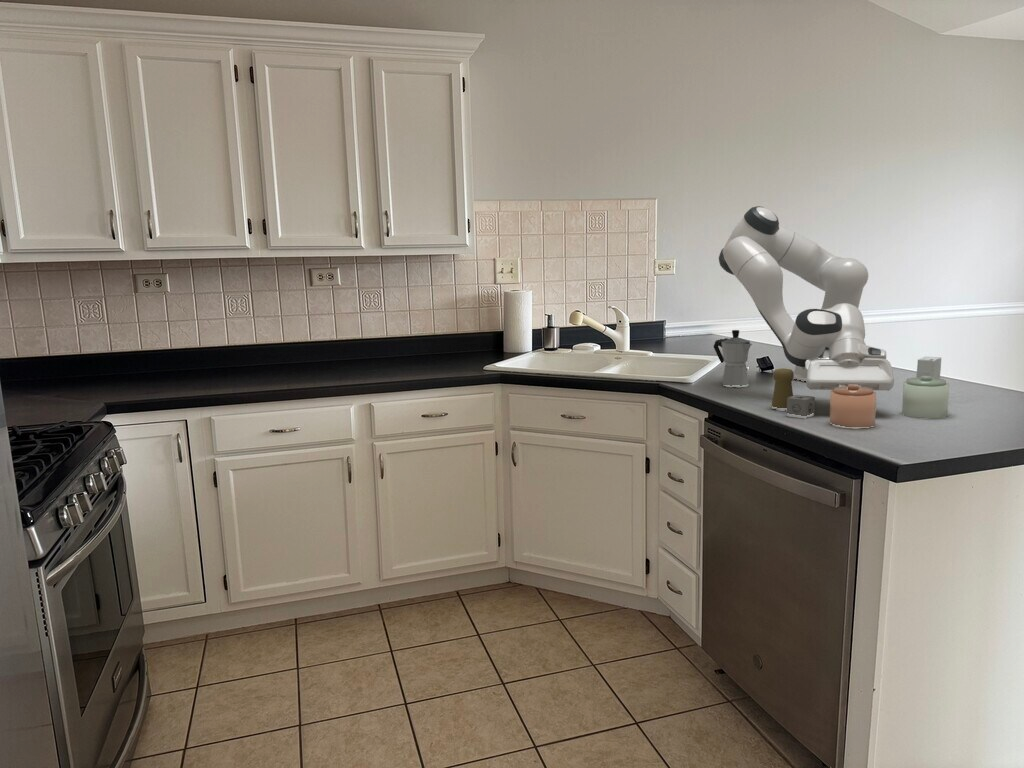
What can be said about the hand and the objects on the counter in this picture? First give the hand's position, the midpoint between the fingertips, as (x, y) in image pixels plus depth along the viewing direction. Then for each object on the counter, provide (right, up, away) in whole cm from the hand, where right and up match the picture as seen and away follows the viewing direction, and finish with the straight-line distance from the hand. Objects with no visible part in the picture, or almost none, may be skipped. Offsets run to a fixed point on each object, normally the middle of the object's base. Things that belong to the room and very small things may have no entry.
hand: (850, 402), depth 181 cm
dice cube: (-10, -4, +7) cm, 13 cm away
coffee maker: (-13, +4, +53) cm, 55 cm away
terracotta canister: (-2, -5, -5) cm, 7 cm away
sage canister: (+20, -3, +2) cm, 20 cm away
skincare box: (+28, -1, +15) cm, 32 cm away
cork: (-11, -2, +16) cm, 19 cm away
